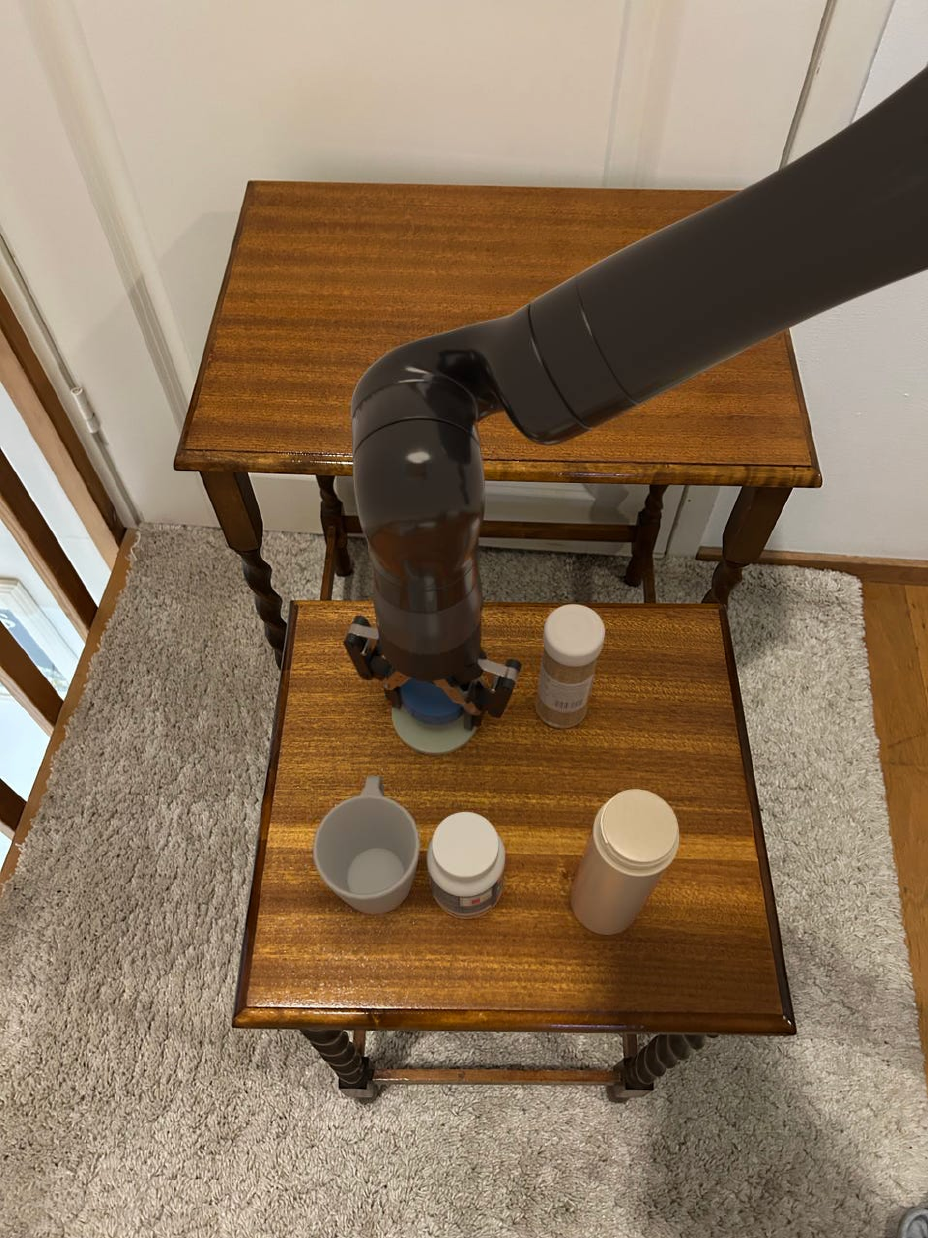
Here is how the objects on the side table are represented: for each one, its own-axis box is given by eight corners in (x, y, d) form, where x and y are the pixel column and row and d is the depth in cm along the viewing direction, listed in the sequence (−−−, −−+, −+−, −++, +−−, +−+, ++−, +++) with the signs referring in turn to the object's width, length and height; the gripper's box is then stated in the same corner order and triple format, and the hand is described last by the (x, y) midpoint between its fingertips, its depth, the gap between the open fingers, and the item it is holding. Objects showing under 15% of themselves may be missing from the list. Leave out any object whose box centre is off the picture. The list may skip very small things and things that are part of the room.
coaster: (491, 689, 82) (491, 685, 81) (464, 766, 78) (464, 763, 78) (409, 665, 83) (409, 662, 83) (379, 740, 79) (378, 737, 79)
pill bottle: (514, 903, 72) (520, 866, 64) (445, 932, 71) (442, 898, 63) (486, 837, 75) (488, 792, 66) (419, 863, 74) (412, 821, 65)
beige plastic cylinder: (622, 855, 74) (661, 772, 59) (651, 921, 71) (700, 851, 56) (559, 878, 73) (582, 799, 58) (586, 945, 71) (618, 881, 56)
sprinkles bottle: (591, 690, 82) (611, 609, 70) (580, 736, 79) (599, 661, 68) (540, 678, 82) (551, 596, 71) (528, 723, 80) (538, 646, 69)
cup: (323, 927, 71) (307, 898, 64) (334, 802, 77) (320, 762, 69) (423, 928, 71) (418, 899, 64) (427, 803, 76) (423, 763, 69)
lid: (386, 686, 78) (385, 675, 77) (443, 649, 80) (444, 638, 79) (429, 739, 76) (429, 729, 74) (486, 699, 78) (488, 689, 76)
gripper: (312, 621, 65) (341, 724, 79) (511, 678, 62) (504, 773, 77) (352, 537, 68) (372, 650, 83) (542, 588, 66) (529, 695, 80)
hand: (436, 709), depth 80 cm, fingers closed on lid, 6 cm apart
